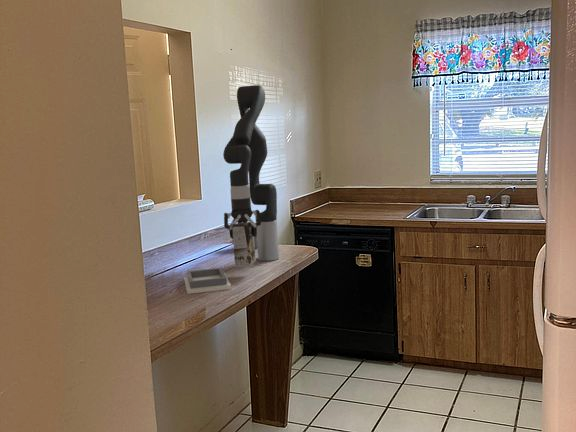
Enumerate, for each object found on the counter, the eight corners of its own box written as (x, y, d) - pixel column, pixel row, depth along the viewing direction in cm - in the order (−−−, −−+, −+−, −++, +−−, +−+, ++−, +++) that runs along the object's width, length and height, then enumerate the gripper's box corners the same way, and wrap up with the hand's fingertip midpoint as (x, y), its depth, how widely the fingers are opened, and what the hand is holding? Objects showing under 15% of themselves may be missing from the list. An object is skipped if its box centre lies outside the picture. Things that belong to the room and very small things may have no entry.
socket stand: (184, 280, 236) (183, 270, 235) (224, 276, 239) (224, 266, 239) (187, 293, 218) (186, 283, 217) (231, 288, 221) (230, 278, 220)
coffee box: (250, 266, 233) (247, 226, 230) (234, 266, 234) (231, 226, 231) (256, 260, 241) (253, 221, 239) (241, 260, 243) (238, 221, 240)
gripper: (256, 193, 238) (259, 233, 241) (221, 197, 235) (224, 237, 238) (260, 196, 231) (263, 237, 234) (223, 199, 228) (226, 241, 231)
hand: (243, 237), depth 236 cm, fingers closed on coffee box, 8 cm apart
